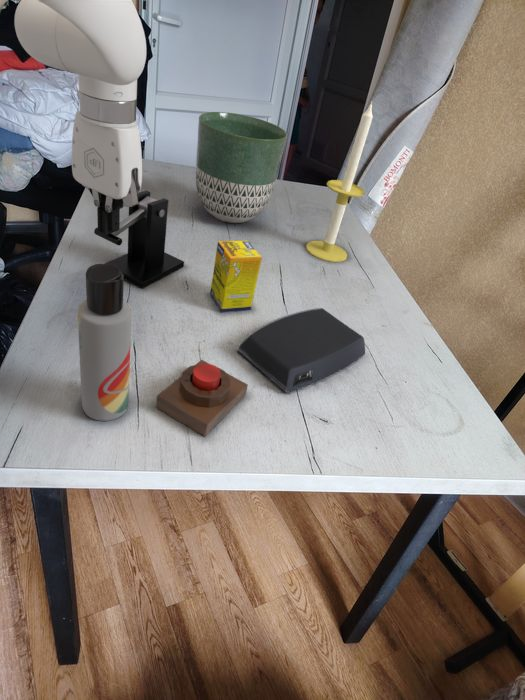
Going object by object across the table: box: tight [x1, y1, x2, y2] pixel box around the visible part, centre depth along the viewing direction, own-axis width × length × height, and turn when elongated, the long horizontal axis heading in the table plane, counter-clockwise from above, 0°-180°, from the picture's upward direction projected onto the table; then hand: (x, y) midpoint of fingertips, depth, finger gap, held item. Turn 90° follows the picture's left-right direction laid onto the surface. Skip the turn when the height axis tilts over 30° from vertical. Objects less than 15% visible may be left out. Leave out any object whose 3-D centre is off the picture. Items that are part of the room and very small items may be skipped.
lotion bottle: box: [77, 263, 132, 422], centre depth 56 cm, size 6×6×20 cm
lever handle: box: [93, 196, 158, 246], centre depth 81 cm, size 12×5×2 cm, turn 150°
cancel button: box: [192, 363, 221, 391], centre depth 63 cm, size 4×4×2 cm
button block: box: [155, 359, 249, 437], centre depth 65 cm, size 10×8×4 cm
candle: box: [305, 101, 374, 263], centre depth 103 cm, size 10×10×32 cm
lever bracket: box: [104, 189, 185, 290], centre depth 86 cm, size 12×9×14 cm
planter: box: [195, 111, 288, 224], centre depth 110 cm, size 20×20×21 cm
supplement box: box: [209, 239, 263, 313], centre depth 84 cm, size 6×6×11 cm
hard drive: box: [236, 307, 366, 393], centre depth 78 cm, size 13×19×4 cm
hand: (108, 230), depth 77 cm, fingers closed
